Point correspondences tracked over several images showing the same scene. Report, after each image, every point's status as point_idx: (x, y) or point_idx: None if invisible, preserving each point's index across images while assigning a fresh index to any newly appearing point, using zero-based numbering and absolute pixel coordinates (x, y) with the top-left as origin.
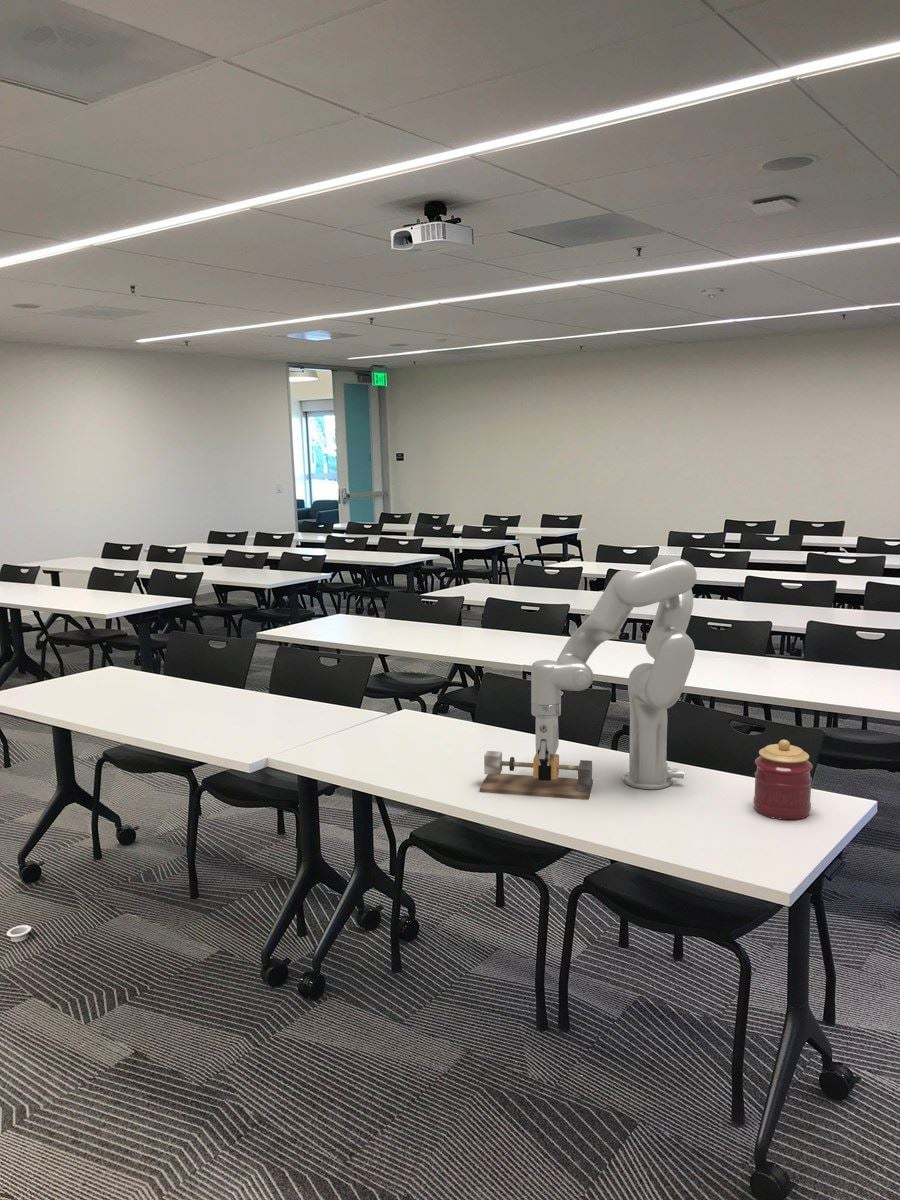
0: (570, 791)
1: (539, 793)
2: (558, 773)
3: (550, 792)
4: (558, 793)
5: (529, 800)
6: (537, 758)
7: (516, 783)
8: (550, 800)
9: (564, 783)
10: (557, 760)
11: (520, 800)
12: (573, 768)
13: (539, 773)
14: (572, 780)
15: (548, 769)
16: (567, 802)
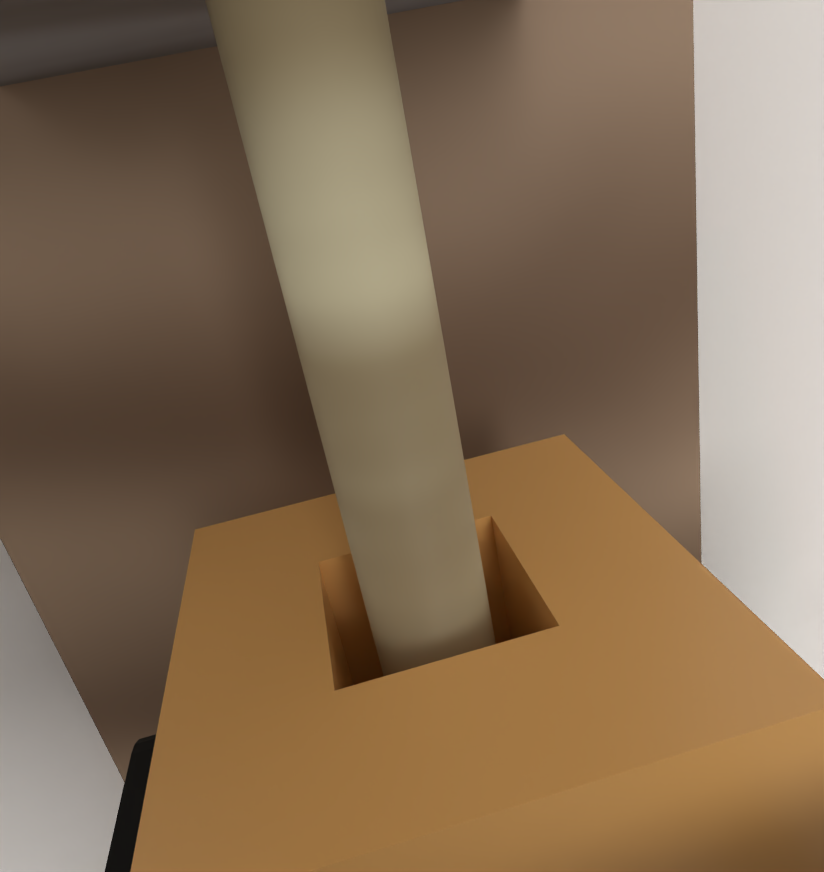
0: (554, 127)
1: (692, 516)
2: (273, 516)
3: (672, 401)
4: (686, 283)
5: (806, 540)
6: None
7: None
8: (772, 333)
9: (234, 349)
10: (564, 716)
11: (818, 612)
12: (402, 130)
13: None
14: (7, 269)
15: None
16: (807, 84)
